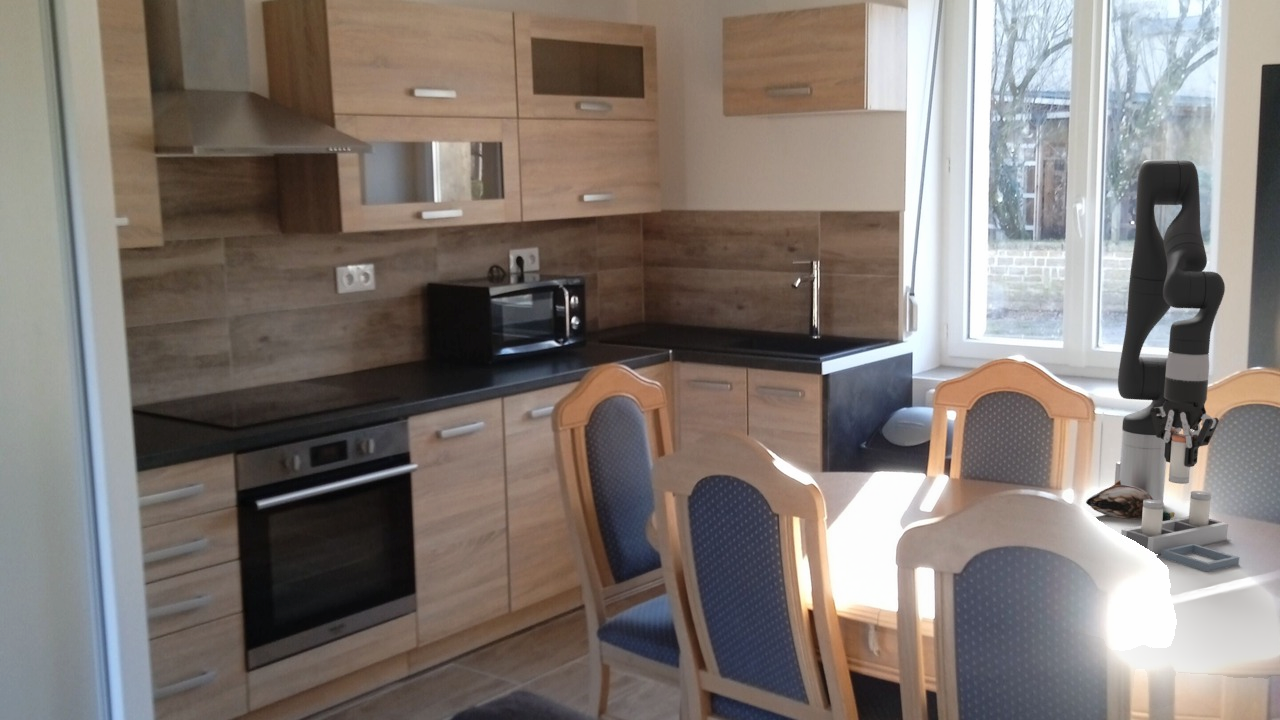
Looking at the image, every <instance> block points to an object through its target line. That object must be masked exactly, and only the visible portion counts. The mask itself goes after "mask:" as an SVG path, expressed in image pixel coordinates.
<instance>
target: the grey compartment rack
mask: <svg viewBox="0 0 1280 720" xmlns="http://www.w3.org/2000/svg"><path fill="white" fill-rule="evenodd" d="M1188 523H1189V515H1188V516H1183V517H1178V518H1174V519H1172V518H1171V519H1170V520H1167V521H1162V533H1161V535H1157V536H1153V537H1151V536H1148V535H1144V534H1141V526H1142V525H1138V526H1132V527H1127V528H1121V532H1120V535H1121V534H1122V535H1124V536H1126V537H1128V538H1130V539H1132V540H1134V541H1136V542H1137V543H1139V544H1140V545H1142V546H1144V547H1145V548H1147V549H1149V550H1150V551H1152V552H1154V553H1155V554H1158V556H1157V557H1161V554H1162V550H1164V549H1169V548H1174V547H1178V546H1183V545H1188V544H1196V545H1199V546H1202V547H1206V546H1212V545H1215V544H1221V543H1225V542H1229V541H1231V539H1229V538H1228V527H1229V524H1228V523H1227V522H1223V521H1219V520H1215V519H1212V518H1209V525H1207V526H1202V527H1198V526H1194V525H1191V524H1188Z"/></svg>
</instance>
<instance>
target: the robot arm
mask: <svg viewBox="0 0 1280 720" xmlns="http://www.w3.org/2000/svg"><path fill="white" fill-rule="evenodd" d="M1198 174H1199V173H1198V170H1197V167H1196V165H1195V163H1194V162H1193V161H1191V160H1187V159H1147V160H1144V161H1143V162H1142V163H1141V165H1140V167H1139V170H1138V175H1137V185H1136V205H1135V206H1136V208H1135V210H1136V212H1135V213H1136V214H1135V233H1134V242H1133V251H1132V252H1133V253H1132V259H1131V266H1130V274H1129V283H1128V284H1129V285H1128V297H1127V313H1126V324H1125V329H1124V330H1125V331H1124V337H1123V338H1124V339H1123V345H1122V349H1121V350H1122V351H1121V356H1120V361H1119V362H1120V363H1119V369H1118V374H1117V390H1118V393H1119V395H1120V397H1121V398H1122V399H1126V400H1135V401H1136V400H1138V401H1140V400H1141V401H1151V403H1150V404H1149V405H1148V406H1147V407H1145V408H1143V409H1141V410H1139V411H1136V412H1132V413H1129V414H1126V415H1125V416H1124V417H1123V419H1122V427H1121V428H1122V429H1121V442H1120V443H1121V445H1120V458H1119V461H1117V462H1116V463H1115V472H1114V473H1115V474H1114V484H1115V483H1117V482H1118V481H1120V483H1121V485H1129V486H1134V487H1137V488H1140V489H1142V490H1144V491H1146V492H1147V493H1148V494H1149V495H1150V496H1151V497H1152V499H1153V500H1159V501H1162V502H1164V495H1165V481H1166V466H1167V463H1169V464H1170V456H1171V442H1172V434H1180V432H1181V431H1182V434H1184V436H1185V437H1186V445H1187V448H1186V450H1185V463H1184V465H1185V466H1186V467H1190V468H1191V467H1194V466H1195V465H1197V463H1198V454H1199V448H1200V447H1205V446H1209V443H1210V442H1211V440H1212V438H1213V436H1214V433H1215V431H1216V429H1217V426H1218V424H1219V423H1220V420H1219V418H1218V417H1211V416H1210V415H1209V414H1207V411H1206V408H1205V403H1206V401H1207V400H1208V399H1207V398H1208V389H1209V388H1208V386H1209V376H1210V374H1209V373H1210V343H1211V334H1212V333H1211V332H1212V329H1213V325H1214V321H1215V319H1216V316H1217V313H1218V311H1219V308H1220V306H1221V303H1222V302H1223V298H1224V295H1225V291H1226V290H1225V289H1226V287H1225V281H1224V279H1223V277H1222V276H1221V275H1220V274H1219V273H1218V272H1215V271H1204V270H1205V269H1206V267H1207V264H1208V256H1207V252H1206V249H1205V244H1204V240H1203V236H1202V230H1201V201H1200V199H1201V198H1200V182H1199V175H1198ZM1179 205H1180V206H1181V208H1180V211H1179V212H1178V214H1177V215H1176V217H1175V218H1174V219H1173V220H1172V221H1171V223H1170V224H1169V225H1168V227H1167V228H1166V231H1165V234H1164V237H1162V234H1161V232H1160V230H1159V227H1158V225H1157V221H1156V217H1155V206H1179ZM1171 308H1175V309H1196V310H1197V309H1199V311H1198V312H1197V314H1196V315H1194V316H1193V317H1191V318H1188V319H1182V320H1177V321H1175V322H1173V323H1172V324H1171V325H1170V331H1169V343H1168V353H1167V357H1159V356H1158V357H1156V356H1155V357H1153V356H1151V357H1150V356H1140V355H1141V353H1142V348H1143V346H1144V343H1145V342H1146V340H1147V338H1148V336H1149V335H1150V333H1151V331H1153V329H1154V328H1155V327H1156V325H1158V323H1159V322H1160V321H1161V319H1162V318H1164V316H1165V315H1166V314H1167V312H1168V311H1169V310H1170V309H1171ZM1200 423H1201V424H1200ZM1201 426H1202V427H1201Z"/></svg>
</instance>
